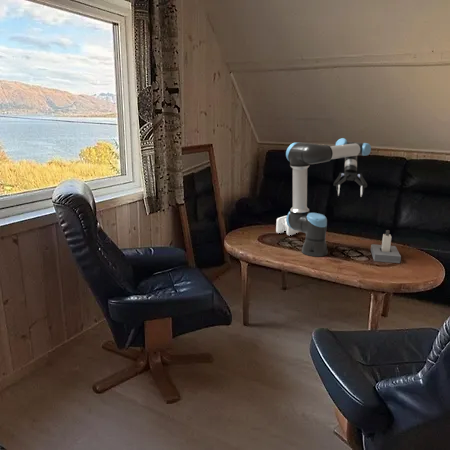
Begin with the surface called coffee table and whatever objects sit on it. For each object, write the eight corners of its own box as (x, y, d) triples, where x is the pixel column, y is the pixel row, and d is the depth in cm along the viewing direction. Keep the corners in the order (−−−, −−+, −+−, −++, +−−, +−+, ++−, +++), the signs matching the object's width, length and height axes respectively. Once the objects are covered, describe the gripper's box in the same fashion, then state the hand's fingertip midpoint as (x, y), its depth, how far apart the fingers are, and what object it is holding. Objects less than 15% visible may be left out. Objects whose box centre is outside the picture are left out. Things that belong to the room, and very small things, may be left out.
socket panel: (374, 261, 240) (374, 254, 239) (370, 250, 259) (371, 244, 258) (400, 263, 237) (401, 256, 236) (394, 252, 256) (395, 246, 255)
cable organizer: (287, 237, 284) (288, 220, 281) (275, 234, 291) (275, 217, 288) (300, 232, 294) (301, 216, 291) (287, 230, 301) (288, 214, 298)
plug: (381, 255, 246) (384, 231, 242) (380, 253, 250) (383, 229, 246) (389, 256, 245) (392, 231, 241) (387, 253, 249) (390, 229, 246)
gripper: (370, 172, 270) (370, 199, 260) (330, 170, 275) (328, 197, 265) (371, 165, 263) (371, 192, 253) (331, 163, 269) (329, 190, 259)
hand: (349, 195), depth 259 cm, fingers open, 13 cm apart
